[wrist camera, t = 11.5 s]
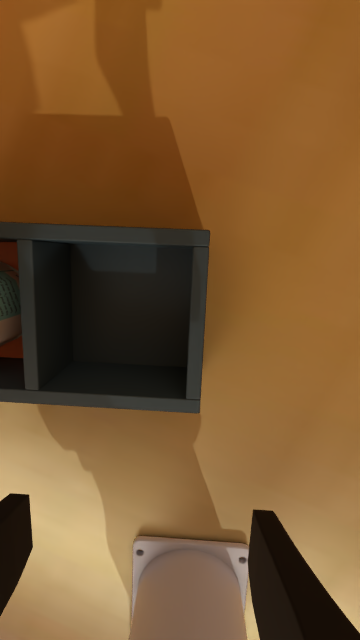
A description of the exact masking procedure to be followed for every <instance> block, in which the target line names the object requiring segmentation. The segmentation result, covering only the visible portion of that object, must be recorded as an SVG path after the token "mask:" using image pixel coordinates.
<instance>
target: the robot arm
mask: <svg viewBox="0 0 360 640" xmlns="http://www.w3.org/2000/svg"><path fill="white" fill-rule="evenodd" d="M32 548H33V543H32V529H31V515H30V501H29V495H26V494H9V495H8V496H7V497H5V498H4V499H3V500H1V501H0V616H1V614H2V612H3V610H4V608H5V607H6V605H7V603H8V601H9V599H10V597H11V595H12V593H13V592H14V590H15V588H16V586H17V584H18V581H19V579H20V577H21V574H22V572H23V570H24V568H25V565H26V563H27V560H28V558H29V555H30V553H31V550H32ZM139 549H141V550H142V551H140V550H139ZM240 557H244V558H240ZM248 572H249V579H250V588H251V596H252V603H253V608H254V613H255V618H256V623H257V627H258V632H259V637H260V640H360V633H359V632H358V631H357V629H356V628H355V627H354V626H353V625H352V623H351V622H350V621H349V620H348V618H347V617H346V616H345V614H344V613H343V612H342V611H341V609H340V608H339V607H338V605H337V604H336V603H335V601H334V600H333V599H332V598H331V596H330V595H329V593H328V592H327V591H326V589H325V588H324V587H323V585H322V584H321V583H320V581H319V580H318V578H317V577H316V575H315V574H314V573H313V571H312V570H311V568H310V567H309V565H308V564H307V563H306V561H305V560H304V558H303V557H302V555H301V554H300V552H299V551H298V549H297V548H296V546H295V545H294V543H293V542H292V540H291V538H290V537H289V535H288V534H287V532H286V531H285V529H284V527H283V526H282V524H281V522H280V521H279V519H278V517H277V516H276V514H275V513H274V512H273V511H266V510H253V516H252V525H251V535H250V544H249V546H248V545H246V544H244V543H232V542H218V541H204V540H191V539H177V538H163V537H149V536H138V537H136V538H135V539H134V543H133V573H132V624H131V630H130V636H129V640H247V633H246V626H245V619H244V612H245V602H246V592H247V582H248Z"/></svg>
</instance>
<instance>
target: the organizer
mask: <svg viewBox="0 0 360 640" xmlns="http://www.w3.org/2000/svg"><path fill="white" fill-rule="evenodd" d="M209 242H210V231H209V230H194V229H169V228H143V227H118V226H92V225H67V224H42V223H16V222H0V262H3V263H5V264H8V265H9V266H11V267H13V268H14V269H16V270H17V271H18V272H19V289H20V308H21V326H22V336H20V337H19V338H17V339H15V340H13V341H11V342H8V343H6V344H4V345H2V346H0V402H15V403H32V404H49V405H66V406H83V407H100V408H117V409H134V410H151V411H168V412H184V413H200V398H201V381H202V364H203V347H204V329H205V312H206V294H207V277H208V260H209V247H208V246H209Z"/></svg>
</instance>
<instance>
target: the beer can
mask: <svg viewBox="0 0 360 640" xmlns="http://www.w3.org/2000/svg"><path fill="white" fill-rule="evenodd" d="M20 336H22V326H21V308H20V289H19V272H18V271H17V270H16V269H14V268H13V267H11V266H9V265H8V264H5V263H3V262H0V346H2V345H4V344H6V343H8V342H11V341H13V340H15V339H17V338H19V337H20Z"/></svg>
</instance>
